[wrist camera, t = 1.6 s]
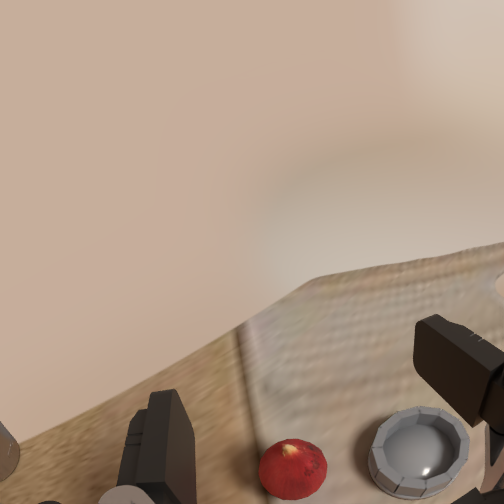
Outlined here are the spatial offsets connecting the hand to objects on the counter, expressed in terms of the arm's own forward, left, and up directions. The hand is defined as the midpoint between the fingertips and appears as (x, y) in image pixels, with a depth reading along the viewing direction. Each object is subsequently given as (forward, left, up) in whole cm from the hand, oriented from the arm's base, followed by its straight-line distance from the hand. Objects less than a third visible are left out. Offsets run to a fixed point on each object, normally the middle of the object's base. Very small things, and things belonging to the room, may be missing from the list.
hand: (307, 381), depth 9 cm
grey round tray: (+14, 0, -22) cm, 26 cm away
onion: (+3, +6, -22) cm, 23 cm away
